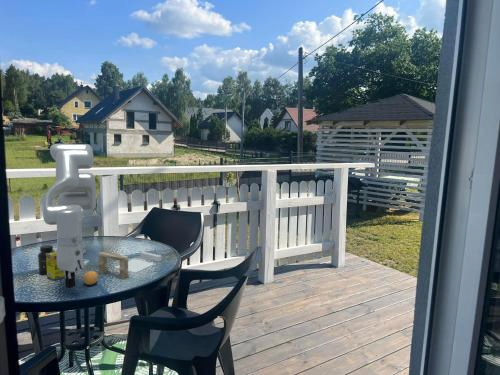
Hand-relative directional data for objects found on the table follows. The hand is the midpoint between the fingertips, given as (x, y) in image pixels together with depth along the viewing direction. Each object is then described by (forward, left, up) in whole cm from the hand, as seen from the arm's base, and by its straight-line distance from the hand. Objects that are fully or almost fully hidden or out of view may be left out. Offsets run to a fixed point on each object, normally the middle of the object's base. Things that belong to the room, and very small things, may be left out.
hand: (70, 286), depth 144 cm
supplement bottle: (-12, +25, -3) cm, 28 cm away
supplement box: (-7, +18, -3) cm, 20 cm away
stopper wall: (+32, +33, -3) cm, 46 cm away
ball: (+7, +7, 0) cm, 10 cm away
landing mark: (+24, +25, -3) cm, 35 cm away
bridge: (+15, +16, -3) cm, 22 cm away
